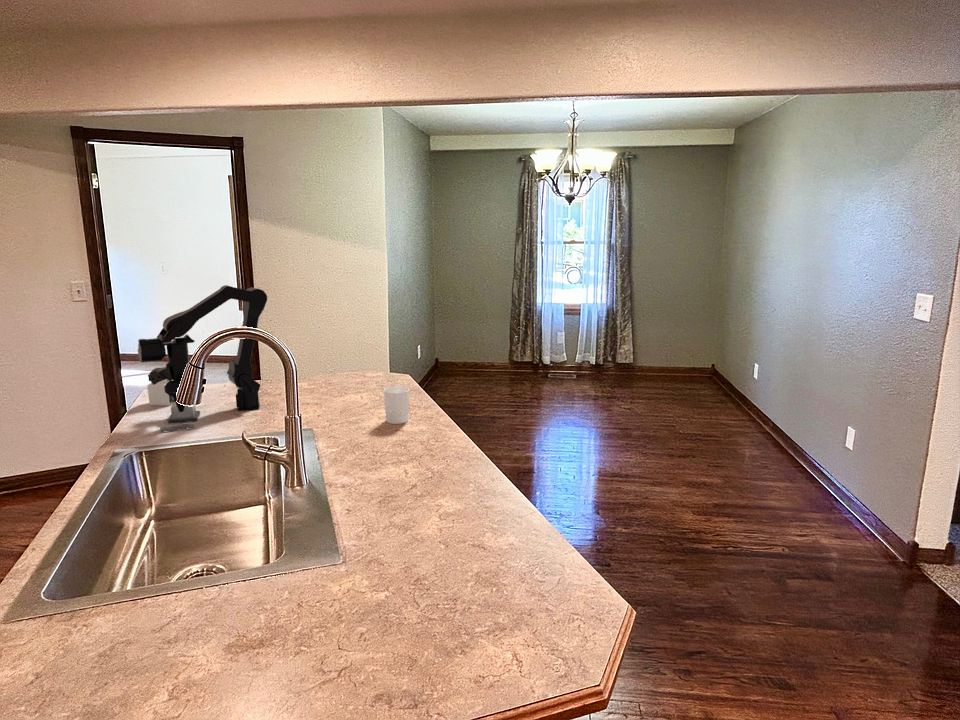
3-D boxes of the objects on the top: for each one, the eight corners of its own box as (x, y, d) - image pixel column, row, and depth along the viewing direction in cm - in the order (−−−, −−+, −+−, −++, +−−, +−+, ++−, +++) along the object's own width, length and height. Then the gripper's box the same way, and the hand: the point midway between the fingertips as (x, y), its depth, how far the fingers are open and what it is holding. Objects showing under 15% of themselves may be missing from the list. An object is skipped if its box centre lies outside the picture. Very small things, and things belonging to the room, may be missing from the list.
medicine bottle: (170, 406, 200) (166, 370, 197) (149, 405, 200) (145, 370, 197) (181, 400, 207) (177, 365, 204) (160, 399, 207) (157, 365, 204)
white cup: (412, 417, 189) (411, 386, 187) (407, 425, 182) (406, 393, 180) (387, 416, 190) (387, 385, 188) (381, 424, 182) (380, 392, 180)
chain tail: (194, 426, 179) (194, 422, 179) (194, 428, 178) (194, 424, 177) (160, 430, 176) (160, 426, 175) (160, 432, 174) (160, 428, 173)
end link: (196, 411, 190) (194, 400, 189) (193, 417, 185) (192, 406, 184) (175, 413, 188) (173, 402, 188) (171, 419, 183) (170, 407, 182)
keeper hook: (200, 413, 192) (198, 398, 191) (197, 421, 184) (195, 405, 183) (172, 415, 189) (170, 400, 188) (168, 423, 182) (166, 407, 181)
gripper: (154, 353, 189) (160, 401, 192) (142, 366, 171) (148, 418, 175) (193, 351, 192) (198, 398, 196) (185, 364, 175) (190, 415, 178)
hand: (183, 407), depth 186 cm, fingers open, 9 cm apart
